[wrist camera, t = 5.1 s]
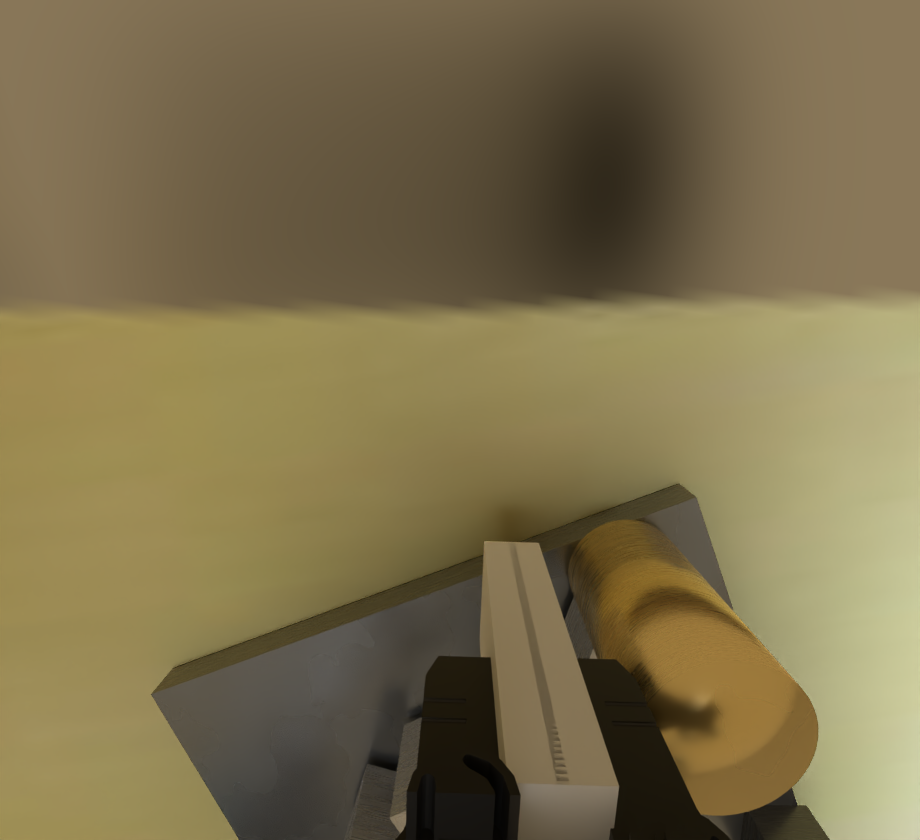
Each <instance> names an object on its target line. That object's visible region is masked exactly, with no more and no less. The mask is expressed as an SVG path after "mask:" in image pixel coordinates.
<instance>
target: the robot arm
mask: <svg viewBox="0 0 920 840" xmlns="http://www.w3.org/2000/svg"><path fill="white" fill-rule="evenodd" d="M480 654H481V657H462V656H438V657H437V659H436V660H435V662H434V663H433V665H432V666H431V668H430V669H429V671H428V672H427V674H426V677H425V687H424V697H423V708H422V719H421V728H420V739H419V749H418V759H417V768H416V769H415V771H414V772H413V774H412V777H411V780H410V783H409V786H408V789H407V792H406V825H405V827H404V829H403V831H402V832H401V833H400V835H399V836H398V837H397V838H396V839H395V840H730V838H729V837H728V836H727V835H726V834H725V833H724V832H723V831H722V830H721V829H719V828H718V827H717V826H716V825H715V824H714V823H713V822H711V821H710V820H709V819H708V818H706V817H704V816H702V815H701V814H700V813H699V811H698V809H697V808H696V806H695V803H694V801H693V799H692V797H691V795H690V793H689V791H688V789H687V786H686V784H685V782H684V780H683V778H682V776H681V774H680V772H679V769H678V767H677V765H676V763H675V761H674V759H673V757H672V755H671V752H670V750H669V748H668V746H667V744H666V742H665V740H664V738H663V735H662V733H661V731H660V729H659V727H657V726H656V721H655V718H654V716H653V714H652V712H651V710H650V708H649V707H647V701H646V699H645V697H644V695H643V693H642V691H641V689H640V687H639V684H638V682H637V680H636V679H635V678H634V677H633V676H632V675H631V674H630V673H629V672H628V671H627V670H626V669H625V668H624V667H623V666H622V665H621V664H620V663H619V662H618V661H617V660H616V659H588V658H577V657H576V654H575V651H574V648H573V645H572V642H571V639H570V636H569V633H568V630H567V627H566V624H565V621H564V618H563V615H562V612H561V609H560V606H559V603H558V600H557V597H556V594H555V591H554V588H553V585H552V582H551V579H550V576H549V573H548V570H547V567H546V563H545V560H544V557H543V554H542V551H541V548H540V545H539V543H529V542H499V541H484V556H483V577H482V598H481V619H480Z"/></svg>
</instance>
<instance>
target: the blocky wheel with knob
mask: <svg viewBox="0 0 920 840" xmlns="http://www.w3.org/2000/svg"><path fill="white" fill-rule="evenodd" d="M568 576H569V583H570V587H571V590H572V592H573V595H574V597H573V600H572V602H571V605H570V607H569V610H568V612H567V615H566V617H565V620H564V621H565V624H566V627H567V630H568V633H569V636H570V639H571V642H572V645H573V648H574V651H575V654H576V657H577V658H588V659H616V660H617V661H618V662H619V663H620V664H621V665H622V666H623V667H624V668H625V669H626V670H627V671H628V672H629V673H630V674H631V675H632V676H633V677H634V678H635V679H636V680H637V682H638V684H639V687H640V689H641V691H642V693H643V695H644V697H645V699H646V701H647V707H649V708H650V710H651V712H652V714H653V716H654V718H655V721H656V726H657V727H659V729H660V731H661V733H662V735H663V738H664V740H665V742H666V744H667V746H668V748H669V750H670V752H671V755H672V757H673V759H674V761H675V763H676V765H677V767H678V769H679V772H680V774H681V776H682V778H683V780H684V782H685V784H686V786H687V789H688V791H689V793H690V795H691V797H692V799H693V801H694V803H695V806H696V808H697V809H698V811H699V813H700V814H702V815H712V816H724V815H733V814H739V813H744V812H748V811H751V810H754V809H757V808H760V807H762V806H764V805H766V804H768V803H770V802H772V801H774V800H775V799H777V798H779V797H780V796H782V795H783V794H784V793H786V792H787V791H788V790H789V789H790V788H791V787H793V786H794V785H795V784H796V783H797V782H798V780H799V779H800V778H801V777H802V776H803V774H804V773H805V771H806V770H807V768H808V767H809V765H810V763H811V761H812V758H813V756H814V753H815V750H816V747H817V741H818V722H817V716H816V713H815V710H814V707H813V705H812V703H811V701H810V700H809V698H808V696H807V695H806V694H805V692H804V691H803V690H802V688H801V687H800V686H799V685H798V684H797V683H796V682H795V680H794V679H793V678H792V677H791V676H790V675H789V674H788V673H787V671H786V670H785V669H784V668H783V667H782V666H781V665H780V664H779V662H778V661H777V660H776V659H775V658H774V657H773V656H772V654H771V653H770V652H769V651H768V650H767V649H766V648H765V647H764V645H763V644H762V643H761V642H760V641H759V640H758V639H757V638H756V636H755V635H754V634H753V633H752V632H751V631H750V630H749V628H748V627H747V626H746V625H745V624H744V623H743V622H742V621H741V619H740V618H739V617H738V616H737V615H736V614H735V613H734V612H733V610H732V609H731V608H730V607H729V606H728V605H727V604H726V602H725V601H724V600H723V599H722V598H721V597H720V596H719V595H718V593H717V592H716V591H715V590H714V589H713V588H712V587H711V586H710V584H709V583H708V582H707V581H706V580H705V579H704V578H703V576H702V575H701V574H700V573H699V572H698V571H697V570H696V569H695V567H694V566H693V565H692V564H691V563H690V562H689V561H688V560H687V558H686V557H685V556H684V555H683V554H682V553H681V552H680V550H679V549H678V548H677V547H676V546H675V545H674V544H673V543H672V541H671V540H670V539H669V538H668V537H667V536H666V535H665V534H664V533H663V532H662V531H660V530H659V529H658V528H656V527H654V526H652V525H650V524H648V523H645V522H642V521H637V520H617V521H612V522H608V523H605V524H603V525H600V526H599V527H597V528H595V529H593V530H592V531H591V532H589V533H588V534H587V535H586V536H585V537H584V538H583V539H582V540H581V541H580V542H579V543H578V545H577V546H576V548H575V549H574V552H573V554H572V556H571V559H570V562H569V569H568ZM421 719H422V717H421V718H419V719H417V720H414V721H412V722H410V723H408V724H405V725H404V728H403V735H402V741H401V748H400V754H399V761H398V767H397V772H396V771H392V770H388V769H385V768H381V767H377V766H373V765H370V764H367V766H366V769H365V772H364V775H363V778H362V781H361V785H360V788H359V791H358V794H357V797H356V800H355V803H354V806H353V809H352V813H351V816H350V819H349V822H348V826H347V831H346V835H345V839H344V840H395V839H396V838H397V837H398V836H399V835H400V833H401V832H402V831H403V829H404V827H405V825H406V792H407V789H408V786H409V783H410V780H411V777H412V774H413V772H414V771H415V769H416V768H417V759H418V749H419V739H420V728H421Z"/></svg>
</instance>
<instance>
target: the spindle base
mask: <svg viewBox="0 0 920 840" xmlns="http://www.w3.org/2000/svg"><path fill="white" fill-rule="evenodd" d="M617 520H637V521H642V522H645V523H648V524H650V525H652V526H654V527H656V528H658V529H659V530H660V531H662V532H663V533H664V534H665V535H666V536H667V537H668V538H669V539H670V540H671V541H672V543H673V544H674V545H675V546H676V547H677V548H678V549H679V550H680V552H681V553H682V554H683V555H684V556H685V557H686V558H687V560H688V561H689V562H690V563H691V564H692V565H693V566H694V567H695V569H696V570H697V571H698V572H699V573H700V574H701V575H702V576H703V578H704V579H705V580H706V581H707V582H708V583H709V584H710V586H711V587H712V588H713V589H714V590H715V591H716V592H717V593H718V595H719V596H720V597H721V598H722V599H723V600H724V601H725V602H726V604H727V605H728V606H729V607H730V608H731V609H732V610H733V608H732V605H731V602H730V599H729V596H728V593H727V589H726V586H725V583H724V580H723V577H722V574H721V571H720V568H719V565H718V562H717V559H716V556H715V553H714V550H713V547H712V544H711V541H710V538H709V535H708V532H707V529H706V525H705V522H704V519H703V516H702V513H701V510H700V507H699V504H698V501H697V498H696V497H695V496H694V495H693V494H691V493H690V492H689V491H688V490H686V489H685V488H684V487H683V486H682V485H680V484H677V485H675V486H672V487H669V488H666V489H664V490H661V491H658V492H655V493H653V494H650V495H647V496H644V497H642V498H639V499H636V500H633V501H631V502H628V503H625V504H622V505H620V506H617V507H614V508H611V509H609V510H606V511H603V512H601V513H598V514H595V515H592V516H590V517H587V518H584V519H581V520H579V521H576V522H573V523H570V524H568V525H565V526H562V527H559V528H557V529H554V530H551V531H548V532H546V533H543V534H540V535H537V536H535V537H532V538H529V539H527V540H524V541H521V542H529V543H539V545H540V548H541V551H542V554H543V557H544V560H545V563H546V567H547V570H548V573H549V576H550V579H551V582H552V585H553V588H554V591H555V594H556V597H557V600H558V603H559V606H560V609H561V612H562V615H563V618H564V620H565V617H566V615H567V612H568V610H569V607H570V605H571V602H572V600H573V597H574V595H573V592H572V590H571V587H570V583H569V576H568V569H569V562H570V559H571V556H572V554H573V552H574V549H575V548H576V546H577V545H578V543H579V542H580V541H581V540H582V539H583V538H584V537H585V536H586V535H587V534H588V533H589V532H591V531H592V530H593V529H595V528H597V527H599V526H600V525H603V524H605V523H608V522H612V521H617ZM483 556H484V555H483ZM483 556H480V557H477V558H474V559H472V560H469V561H466V562H463V563H461V564H458V565H455V566H452V567H450V568H447V569H444V570H442V571H439V572H436V573H433V574H431V575H428V576H425V577H422V578H420V579H417V580H414V581H411V582H409V583H406V584H403V585H400V586H398V587H395V588H392V589H389V590H387V591H384V592H381V593H378V594H376V595H373V596H370V597H367V598H365V599H362V600H359V601H357V602H354V603H351V604H348V605H346V606H343V607H340V608H337V609H335V610H332V611H329V612H326V613H324V614H321V615H318V616H315V617H313V618H310V619H307V620H304V621H302V622H299V623H296V624H293V625H291V626H288V627H285V628H283V629H280V630H277V631H274V632H272V633H269V634H266V635H263V636H261V637H258V638H255V639H252V640H250V641H247V642H244V643H241V644H239V645H236V646H233V647H230V648H228V649H225V650H222V651H219V652H217V653H214V654H211V655H208V656H206V657H203V658H200V659H198V660H195V661H192V662H189V663H187V664H184V665H181V666H178V667H176V668H173V669H172V670H171V671H170V672H169V673H168V675H167V676H166V677H165V678H164V679H163V681H162V682H161V683H160V684H159V686H158V687H157V688H156V689H155V690H154V692H153V693H152V694H151V695H152V697H153V698H154V700H155V701H156V703H157V705H158V706H159V708H160V710H161V711H162V713H163V715H164V716H165V718H166V720H167V721H168V723H169V725H170V726H171V728H172V730H173V731H174V733H175V734H176V736H177V738H178V739H179V741H180V743H181V744H182V746H183V748H184V749H185V751H186V753H187V754H188V756H189V758H190V759H191V761H192V763H193V764H194V766H195V767H196V769H197V771H198V772H199V774H200V776H201V777H202V779H203V781H204V782H205V784H206V786H207V787H208V789H209V791H210V792H211V794H212V796H213V797H214V799H215V800H216V802H217V804H218V805H219V807H220V809H221V810H222V812H223V814H224V815H225V817H226V819H227V820H228V822H229V824H230V825H231V827H232V829H233V830H234V832H235V833H236V835H237V837H238V838H239V840H344V839H345V835H346V831H347V826H348V822H349V819H350V816H351V813H352V809H353V806H354V803H355V800H356V797H357V794H358V791H359V788H360V785H361V781H362V778H363V775H364V772H365V769H366V766H367V764H370V765H373V766H377V767H381V768H385V769H388V770H392V771H396V772H397V767H398V761H399V754H400V748H401V741H402V735H403V728H404V725H405V724H408V723H410V722H412V721H414V720H417V719H419V718H421V717H422V708H423V697H424V687H425V677H426V674H427V672H428V671H429V669H430V668H431V666H432V665H433V663H434V662H435V660H436V659H437V657H438V656H462V657H481V654H480V619H481V598H482V577H483ZM733 612H734V611H733ZM701 815H702V814H701ZM702 816H704V817H706V818H708V819H709V820H710V821H711V822H713V823H714V824H715V825H716V826H717V827H718V828H719V829H721V830H722V831H723V832H724V833H725V834H726V835H727V836H728V837H729V838H730V840H830V839H829V838H828V837H827V835H826V834H825V832H824V831H823V829H822V828H821V826H820V825H819V823H818V822H817V820H816V819H815V818H814V816H813V815H812V813H811V812H810V810H809V809H808V807H807V806H797V803H796V800H795V797H794V794H793V790H792V787H791V788H790V789H789V790H788V791H787V792H786V793H784V794H783V795H782V796H780V797H779V798H777V799H775V800H774V801H772V802H770V803H768V804H766V805H764V806H762V807H760V808H757V809H754V810H751V811H748V812H744V813H739V814H733V815H724V816H712V815H702Z"/></svg>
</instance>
